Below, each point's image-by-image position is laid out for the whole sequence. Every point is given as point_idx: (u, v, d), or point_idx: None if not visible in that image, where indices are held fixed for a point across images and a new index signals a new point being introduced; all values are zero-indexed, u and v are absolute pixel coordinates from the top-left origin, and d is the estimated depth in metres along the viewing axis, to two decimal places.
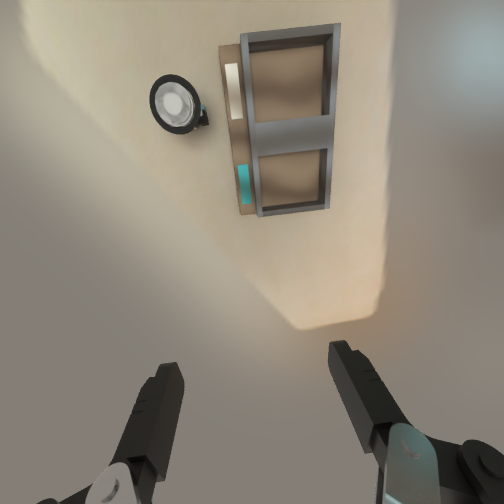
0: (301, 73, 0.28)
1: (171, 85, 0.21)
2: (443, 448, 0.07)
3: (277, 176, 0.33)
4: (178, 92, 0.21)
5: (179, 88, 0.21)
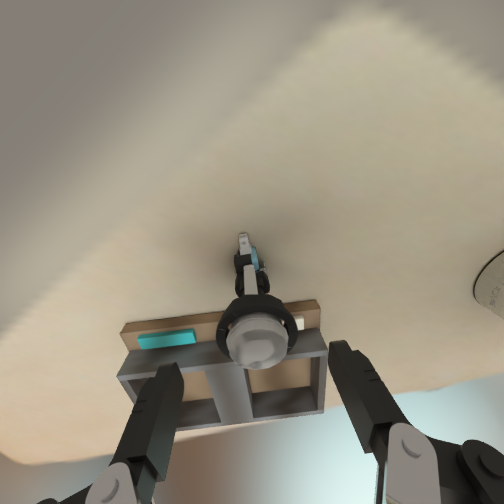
0: (290, 374, 0.27)
1: (283, 350, 0.13)
2: (443, 448, 0.07)
3: None
4: (274, 357, 0.13)
5: (279, 359, 0.13)
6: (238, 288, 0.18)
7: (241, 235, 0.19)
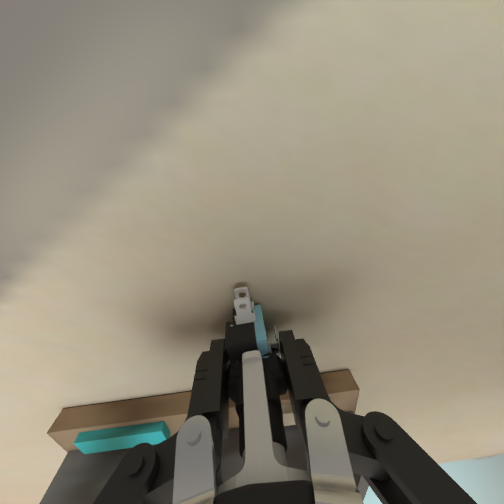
0: None
1: None
2: (353, 420, 0.08)
3: None
4: None
5: None
6: (232, 391, 0.10)
7: (238, 290, 0.11)
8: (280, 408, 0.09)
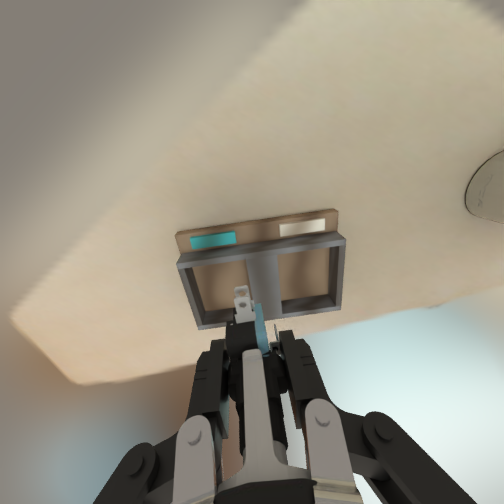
0: (311, 281, 0.32)
1: None
2: (353, 420, 0.08)
3: (225, 271, 0.31)
4: None
5: None
6: (233, 390, 0.10)
7: (238, 288, 0.11)
8: (280, 407, 0.09)
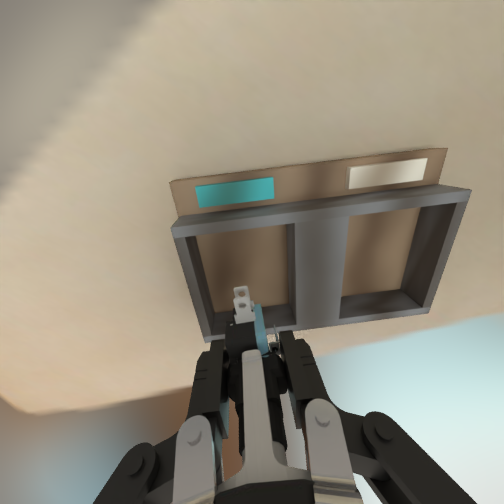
0: (380, 269, 0.21)
1: None
2: (353, 420, 0.08)
3: (250, 250, 0.19)
4: None
5: None
6: (232, 390, 0.10)
7: (237, 289, 0.11)
8: (280, 407, 0.09)
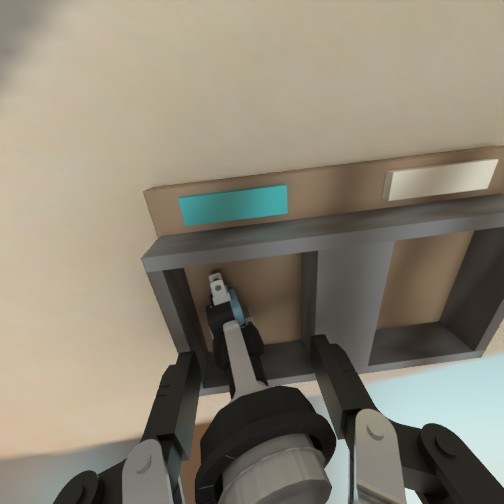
0: (417, 298, 0.17)
1: (325, 495, 0.07)
2: (406, 432, 0.07)
3: (254, 278, 0.15)
4: None
5: None
6: (219, 359, 0.12)
7: (212, 276, 0.13)
8: (259, 360, 0.11)
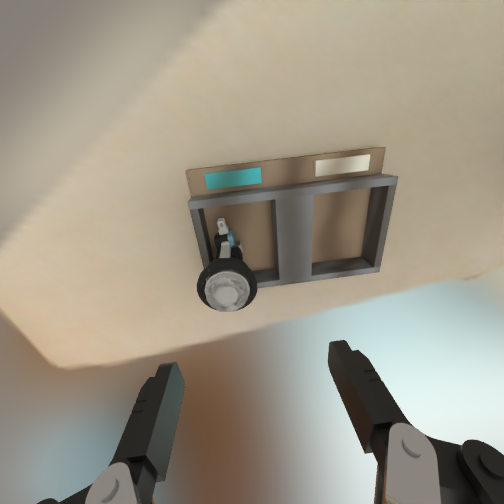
0: (344, 239, 0.27)
1: (245, 295, 0.18)
2: (443, 448, 0.07)
3: (245, 223, 0.25)
4: (239, 301, 0.18)
5: (243, 302, 0.18)
6: None
7: (219, 219, 0.24)
8: None
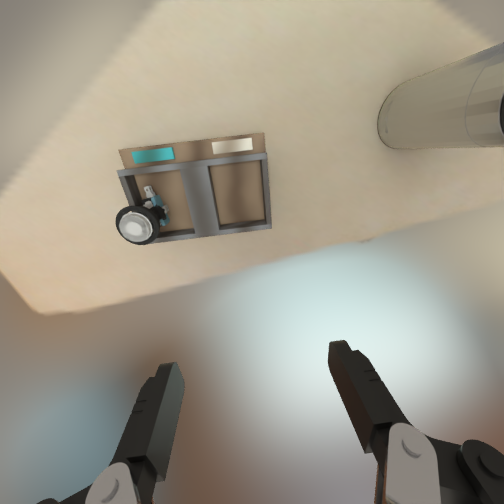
0: (248, 205, 0.36)
1: (146, 228, 0.26)
2: (443, 448, 0.07)
3: (168, 190, 0.34)
4: (143, 233, 0.27)
5: (146, 234, 0.27)
6: None
7: None
8: (155, 214, 0.31)
